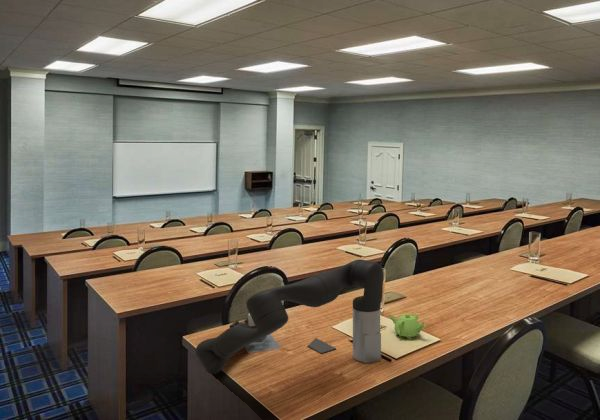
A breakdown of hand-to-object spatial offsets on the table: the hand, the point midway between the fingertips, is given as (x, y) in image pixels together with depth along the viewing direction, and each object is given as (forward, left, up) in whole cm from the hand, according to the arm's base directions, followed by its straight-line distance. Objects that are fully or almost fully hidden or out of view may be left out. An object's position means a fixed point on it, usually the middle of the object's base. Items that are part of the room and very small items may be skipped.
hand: (259, 322), depth 178 cm
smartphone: (-13, -18, -7) cm, 23 cm away
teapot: (-17, -54, -7) cm, 57 cm away
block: (-1, +1, +4) cm, 4 cm away
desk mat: (-1, +1, -7) cm, 7 cm away
